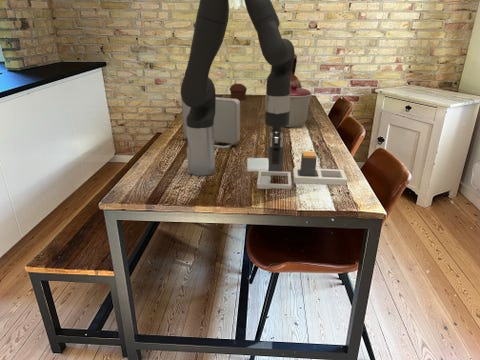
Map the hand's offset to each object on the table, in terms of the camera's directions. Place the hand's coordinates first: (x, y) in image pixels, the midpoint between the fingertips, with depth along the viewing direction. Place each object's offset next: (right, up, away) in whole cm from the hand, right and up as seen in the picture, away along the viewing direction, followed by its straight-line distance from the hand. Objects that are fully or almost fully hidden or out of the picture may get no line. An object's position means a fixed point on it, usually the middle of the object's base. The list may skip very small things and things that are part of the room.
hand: (275, 160), depth 115 cm
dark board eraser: (0, -3, +1) cm, 3 cm away
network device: (-24, +10, +41) cm, 49 cm away
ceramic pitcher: (+18, +44, +114) cm, 123 cm away
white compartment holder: (+15, -7, +5) cm, 17 cm away
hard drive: (-5, -2, +17) cm, 18 cm away
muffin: (-13, +48, +123) cm, 133 cm away
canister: (+15, +22, +67) cm, 72 cm away
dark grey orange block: (+11, -6, +5) cm, 13 cm away
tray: (0, -7, +3) cm, 8 cm away
